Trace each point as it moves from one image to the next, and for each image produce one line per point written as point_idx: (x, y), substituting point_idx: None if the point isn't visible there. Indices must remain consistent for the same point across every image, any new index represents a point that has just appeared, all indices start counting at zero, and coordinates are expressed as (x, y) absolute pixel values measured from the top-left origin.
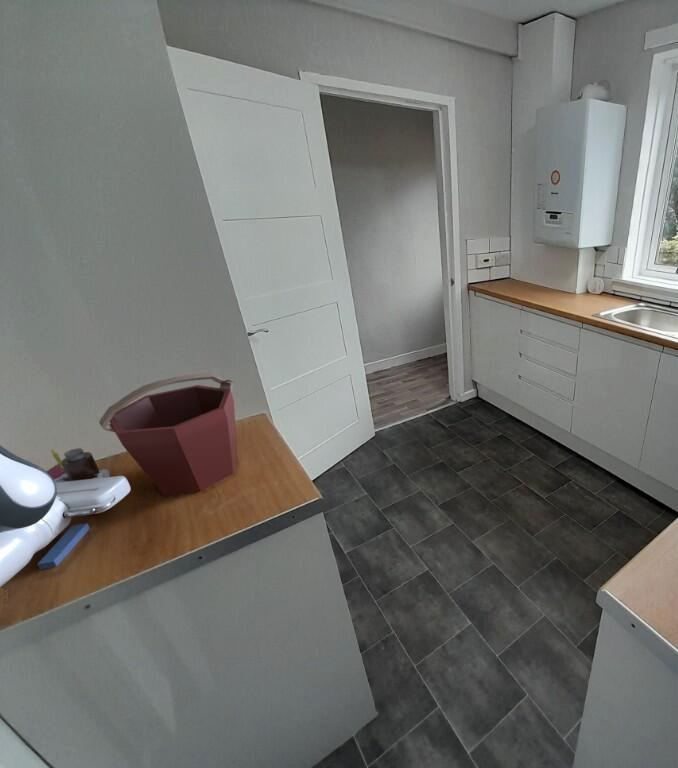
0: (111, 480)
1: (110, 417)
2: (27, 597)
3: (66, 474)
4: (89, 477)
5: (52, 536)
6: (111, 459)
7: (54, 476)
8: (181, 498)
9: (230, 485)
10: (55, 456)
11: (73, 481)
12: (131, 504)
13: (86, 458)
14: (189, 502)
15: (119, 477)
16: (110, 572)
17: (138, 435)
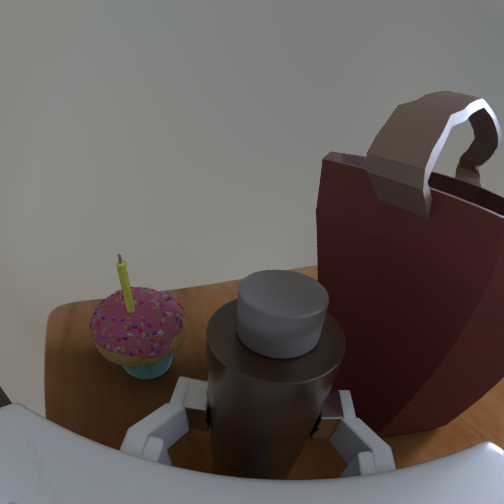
0: (487, 474)
1: (444, 138)
2: None
3: (191, 389)
4: (306, 433)
5: None
6: (175, 293)
7: (114, 333)
8: (415, 445)
9: (472, 405)
10: (122, 276)
11: (307, 493)
12: (304, 458)
13: (343, 346)
14: (441, 456)
15: (495, 452)
16: None
17: None
